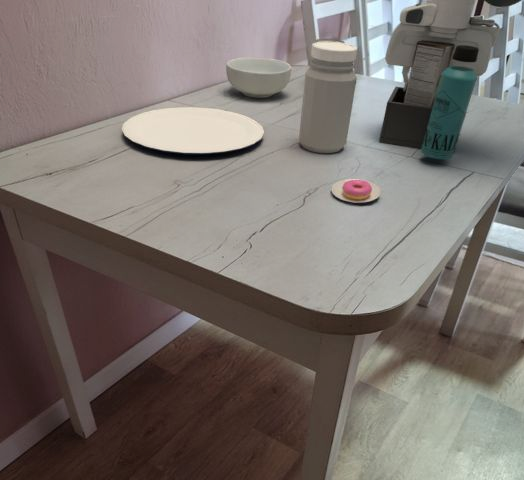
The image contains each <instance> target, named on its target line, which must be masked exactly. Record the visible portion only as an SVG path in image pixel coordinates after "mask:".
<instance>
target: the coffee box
mask: <svg viewBox="0 0 524 480" xmlns="http://www.w3.org/2000/svg"><path fill="white" fill-rule="evenodd" d="M454 46H455V45H454V44H451V43H444V42H434V41H418V42H417V44H416V49H415V54H414V58H413V63H412V67H410V71H409V75H408V78H409V81H408V86H407V90H406V95H405V99H404V103H405V104H412V105H419V106H426V107H433V104H434V102H433V101H434V99H435V97H436V96H435V95H436V94H437V90H438V87H439V83H440V80H441V74H442V72H443V71H444V70H446V69H447V68H449V64H450V60H451V57H452V53H453V50H454Z"/></svg>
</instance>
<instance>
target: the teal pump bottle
mask: <svg viewBox="0 0 524 480" xmlns="http://www.w3.org/2000/svg"><path fill="white" fill-rule="evenodd" d="M478 51H479V49H478V48H476V47H473V46H467V45H459V46H457V47H456V49H455V52H454V54H453V57H452V59H454V60H457V61H461V62H476V61H477V56H478ZM477 80H478V76H476V74H475V72H474V70H473V69H471V68H467V67H462V66H450V67H449V68H447V69H446V70H444V71H443V72H442V74H441V80H440V83H439V87H438V90H437V94H436V95H435V96H436V97H435V99H434V101H433V102H434V104H433V108H432V111H431V115H430V116H429V117H430V119H429V121H428V122H429V123H428V126H427V130H425V131H426V134H424V135H425V137H424V138H423V139H424V140H423V142H422V144H423V145H421V146H422V148H421V149H420V151H421V154H422V155H423V156H426V157H428V158H431V159H435V160H449V159H451V158H452V157H453V155H454V154H455V152H456V148H457V144H458V142H459V137H460V136H461V132H462V128H463V125H464V122H465V119H466V117H467V115H466V114H467V111H468V108H469V105H470V102H471V98H472V95H473V93H474V88H475V85H476V82H477Z"/></svg>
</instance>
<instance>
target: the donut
mask: <svg viewBox="0 0 524 480" xmlns="http://www.w3.org/2000/svg"><path fill="white" fill-rule="evenodd" d="M373 182H374V180H372V181H369V180H365V179H360V178H347V179H342V180H339V181H337V182H335V183H333V185H332V186H331V193H332V194H333V196H335V197H336V198H338V199H339V200H340V201H341V200H342V201H344V202H347V203H348V202H349V203H353V204H362V203H363V204H364V203H369V202H372V201H375V200H376V199H378V198H379V197H380V196H381V191H382V190H381V188H380V187H379V186H378V185H377V184H375V183H373Z"/></svg>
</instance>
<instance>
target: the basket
mask: <svg viewBox="0 0 524 480" xmlns="http://www.w3.org/2000/svg"><path fill="white" fill-rule="evenodd" d="M403 90H404V86H403V87H402V86H394V89H393V90H392V92H391V94H390V96H389V97H388V100H387V102H386V106H385V110H384V115H383V120H382V125H381V131H380V135H379V139H378V142H379V143H382V144H389V145H395V146H402V147H408V148H413V149H420V150H421V148H422V146H421V145H423V144H422V142H423V140H424V139H423V138H424V137H425V135H424V134H426V131H425V130H427V126H428V123H429V122H428V121H429V119H430V117H429V116H430V115H431V111H432V108H433V107H426V106H419V105H412V104H405V103H404V99H405V95H406V91H403Z"/></svg>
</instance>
